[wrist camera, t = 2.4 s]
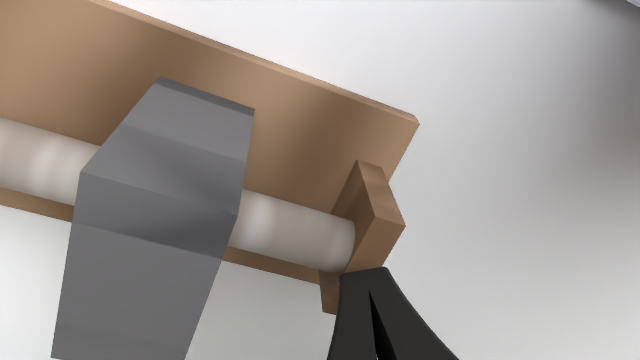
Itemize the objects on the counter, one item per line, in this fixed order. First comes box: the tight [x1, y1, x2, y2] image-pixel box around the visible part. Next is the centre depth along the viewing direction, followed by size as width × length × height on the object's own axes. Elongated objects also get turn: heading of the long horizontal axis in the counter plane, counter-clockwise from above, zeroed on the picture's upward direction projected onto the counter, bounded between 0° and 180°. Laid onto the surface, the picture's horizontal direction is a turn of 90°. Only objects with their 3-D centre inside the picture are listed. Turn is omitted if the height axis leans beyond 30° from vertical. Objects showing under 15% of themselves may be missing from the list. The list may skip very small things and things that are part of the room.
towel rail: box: [0, 0, 420, 315], centre depth 13 cm, size 18×8×4 cm, turn 68°
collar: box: [51, 76, 255, 360], centre depth 12 cm, size 3×5×6 cm, turn 158°
